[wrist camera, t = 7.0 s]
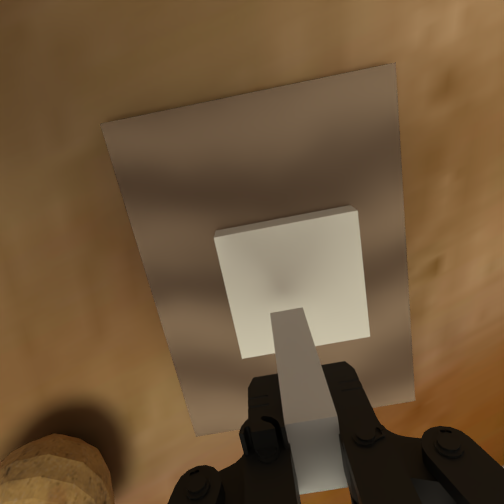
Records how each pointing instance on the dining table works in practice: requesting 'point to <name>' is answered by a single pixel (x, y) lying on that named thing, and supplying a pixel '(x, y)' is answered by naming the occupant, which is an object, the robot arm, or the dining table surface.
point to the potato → (55, 473)
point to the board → (264, 209)
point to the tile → (295, 277)
